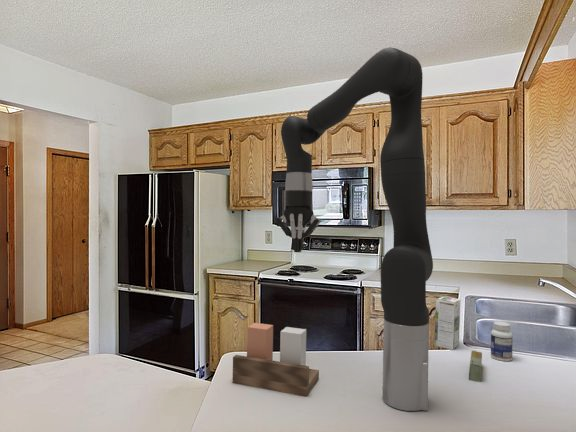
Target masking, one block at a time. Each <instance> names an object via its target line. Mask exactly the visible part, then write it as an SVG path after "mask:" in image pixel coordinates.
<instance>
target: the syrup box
mask: <svg viewBox="0 0 576 432" xmlns="http://www.w3.org/2000/svg"><path fill="white" fill-rule="evenodd" d="M460 323H461V299H459V298H456V297H451V296H441V297H439V298H438V297H437V299H435V314H434V342H433V345H434V347H438V348H444V349H448V350H452V351H453V350H455V349H456V348H457V347H459V345H460V325H461V324H460Z"/></svg>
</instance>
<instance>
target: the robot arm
mask: <svg viewBox="0 0 576 432" xmlns="http://www.w3.org/2000/svg"><path fill="white" fill-rule="evenodd" d="M422 68H423V67H422V65H421V63H420V61H419V60H418V58H416V57H415V56H414V55H412V54H410V53H407V52H405V51H403V50H401V49H399V48H395V47H391V46H389V47H384V48H383V49H381V50H379V51H377V52H376V53H374V55H372V56H371V57H370V58H369V59H368V60H367V61H366V62H365V63H364V64H363V65H362V66H361V67H360V68H359V69H357V71H355V73H354V74H352V75H351V77H349V78H348V79H347V80H346V81H345V82H344V83H343V84H342V85H340V87H339V88H338V89H336V90H335V91H334V92H333V93H331V94H330V95H328V96H327V97H325V98H324V99H322V100H321V101H320V102H318V103H316V104H315V105H313V106H312V107H311V108H309V110H308V112H307V114H306V118H303V117H299V116H295V115H291V116H290V115H289V116H287V117H286V118H285V119H284V121H283V122H282V123H281V127H280V128H281V129H280V135H281V136H280V137H281V140H282V145H283V149H284V154H285V156H286V157H285V158H286V177H285V187H284V189H285V193H284V194H285V195H284V201H285V203H284V206H285V207H284V208H285V209H284V210H283V214H282V215H281V216H280V217H277V218H276V220H275V221H276V223H277V224H278V225H279V227H280V228H281V230H282V231H283V233H284V234H285V235H286V237H289V238H291V240H292V241H291V243H292V246H291V248H292V250H293V252H294V253H302V251H303V250H304V239H305V238H307V237H310V236H311V235H312V233H314V232H315V230H316V229H317V227H318V226H319V225H320V224H321V222H322V220H321V218H318V217H316V216H315V215H314V210H313V189H314V187H313V175H312V174H313V173H312V172H313V171H312V167H313V158H312V154H311V153H310V152H307V151H306V150H304V149H303V146H302V145H306V146H307V145H311V144H314V143H315V142H317V141H318V140H319V139H320V138H321V137H322V136H323V135H324V133H325V132H326V131H328V130H330V129H331V128H333V127H334V126H337V125H338V124H340V123H341V122H343V121H344V120H345V119H346V118H347V117H348V116H349V115H350V113H351V112H352V111H353V109H354V107H355V106H356V105H357V103H359V102H360V101H362V100H363V99H365V98H366V97H369V96H372V95H374V94H377V93H382V94H385V95H387V96H388V98H389V103H390V117H391V118H390V119H391V120H390V125H389V130H388V132H387V134H386V137H385V139H384V141H383V144H382V147H381V151H380V157H379V158H380V162H379V163H380V164H379V165H380V177H381V178H380V179H381V186H382V191H383V194H384V195H383V196H384V198H385V201H386V204H387V205H386V206H387V207H388V211H389V213H390V216H391V220H392V226H393V227H392V228H393V248H391V249H389V250H388V251H387V252H386V253H385V254H384V256H383V257H382V261H381V265H380V304H381V307H382V309H383V337H382V338H383V340H382V341H383V345H382V349H383V350H382V387H381V389H382V396H381V397H382V400H383V402H384V403H385V404H386V405H388V406H389V407H392V408H394V409H398V410H401V411H405V412H406V411H407V412H408V411H409V412H416V411H424V412H425V411H426V412H427V411H428V402H429V401H428V399H429V397H428V395H429V392H428V391H429V339H430V337H429V336H430V335H429V334H430V333H429V331H430V310H429V308H428V306H427V300H426V298H427V296H426V295H427V294H426V293H427V292H426V291H427V285H426V284H427V281H428V280H429V279H430V277H431V276H432V273H433V269H434V261H433V256H432V249H431V244H430V238H429V233H428V225H427V185H426V183H427V182H426V165H425V162H426V161H425V154H424V143H423V142H424V139H423V137H424V136H423V123H422V122H423V121H422V100H423V99H422V98H423V69H422ZM287 222H288V224H289V225H290V227H289V226H288V224H287ZM309 222H310V225H309V227H308V228H307V225H308V224H309ZM306 228H307V229H306Z"/></svg>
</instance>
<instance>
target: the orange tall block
mask: <svg viewBox="0 0 576 432" xmlns="http://www.w3.org/2000/svg"><path fill="white" fill-rule="evenodd" d="M246 328H247V331H246V339H247V340H246V356H247V357H253V358H260V359H266V360H272V361H274V360H273V357H274V354H273V352H274V324H268V323H258V322H253V323H252V324H250V325H248V326H247V327H246Z"/></svg>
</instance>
